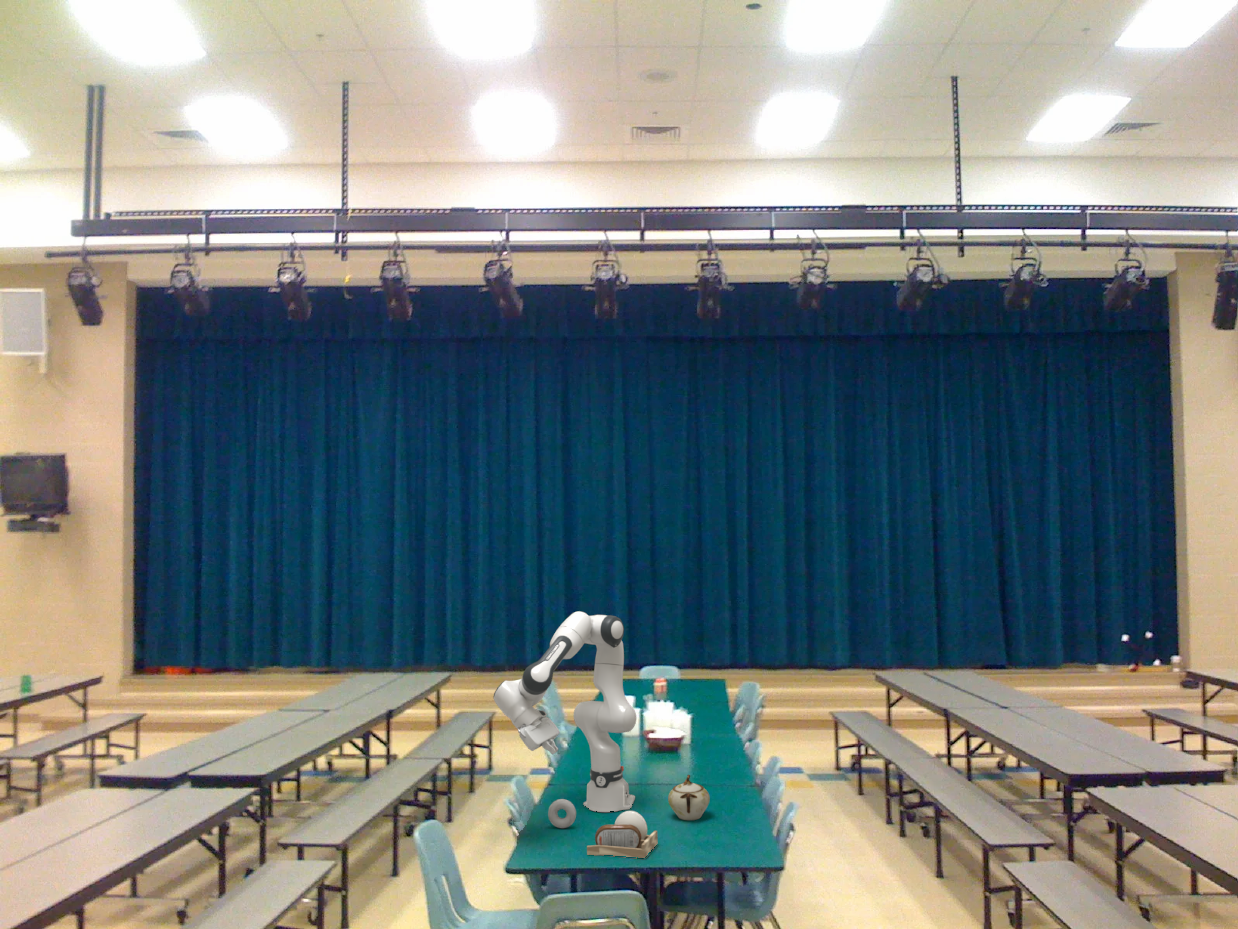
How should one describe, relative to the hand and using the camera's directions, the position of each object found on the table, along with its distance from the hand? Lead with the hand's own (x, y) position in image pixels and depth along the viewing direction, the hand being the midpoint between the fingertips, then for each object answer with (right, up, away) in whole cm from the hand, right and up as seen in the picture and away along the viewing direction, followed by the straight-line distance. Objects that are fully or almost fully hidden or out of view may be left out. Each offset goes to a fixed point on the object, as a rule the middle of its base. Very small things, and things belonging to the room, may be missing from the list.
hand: (555, 752), depth 322 cm
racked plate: (+25, -28, -9) cm, 39 cm away
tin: (+21, -28, -14) cm, 38 cm away
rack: (+23, -28, -13) cm, 38 cm away
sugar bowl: (+47, -30, +20) cm, 59 cm away
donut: (+2, -30, +12) cm, 33 cm away
